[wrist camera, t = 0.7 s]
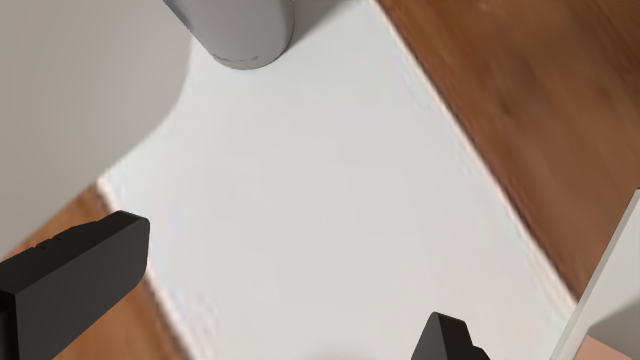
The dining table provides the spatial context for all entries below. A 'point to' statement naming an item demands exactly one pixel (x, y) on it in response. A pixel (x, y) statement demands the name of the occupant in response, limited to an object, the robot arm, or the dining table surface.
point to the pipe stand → (610, 295)
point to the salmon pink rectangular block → (598, 351)
